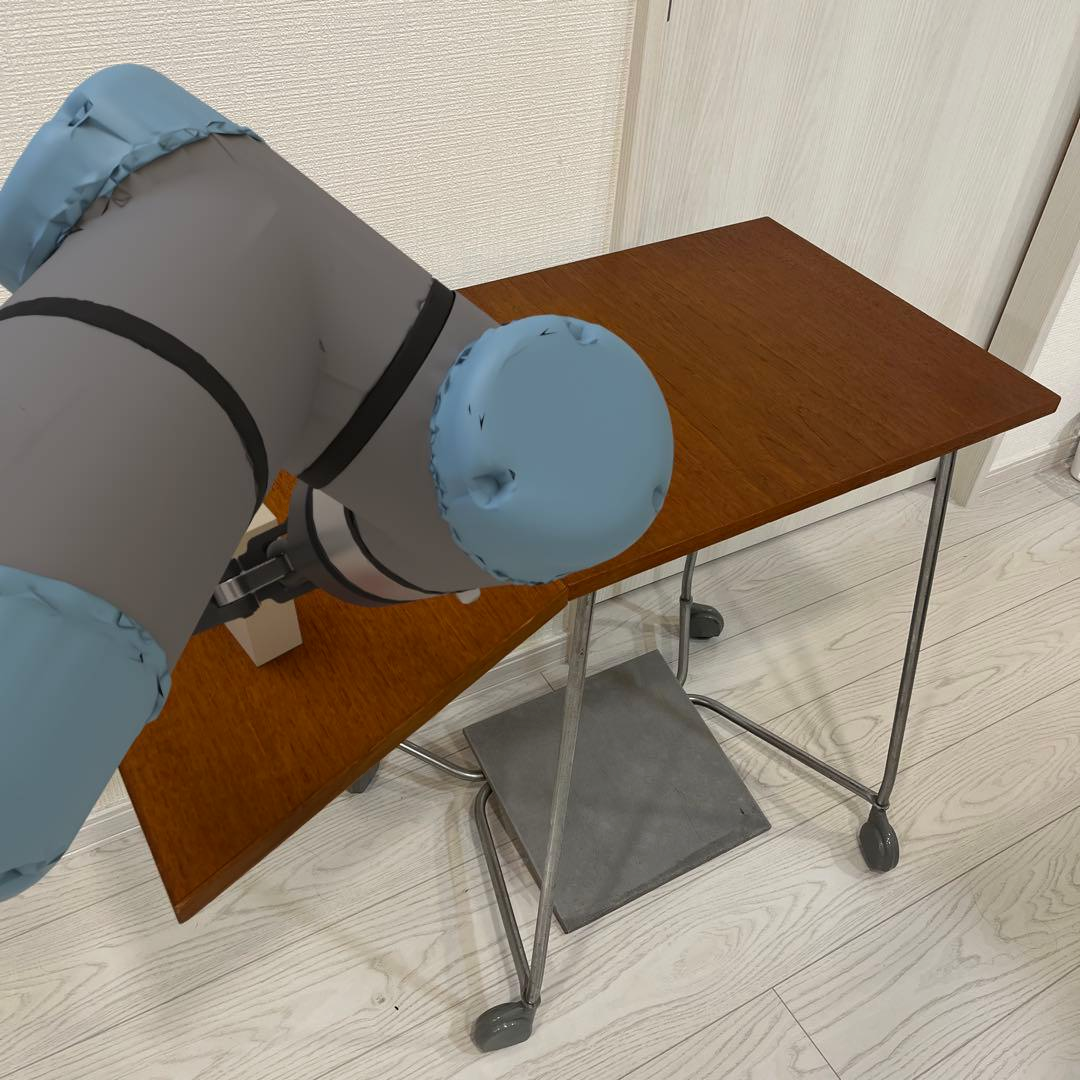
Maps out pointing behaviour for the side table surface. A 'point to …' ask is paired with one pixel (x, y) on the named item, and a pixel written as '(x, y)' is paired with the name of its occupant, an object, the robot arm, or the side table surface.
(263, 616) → the cream rectangular block
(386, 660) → the side table surface
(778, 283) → the side table surface
